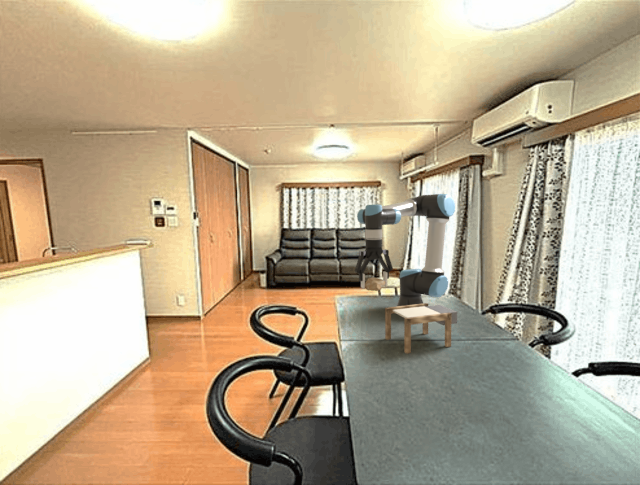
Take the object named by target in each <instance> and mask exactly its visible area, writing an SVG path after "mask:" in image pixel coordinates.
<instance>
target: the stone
mask: <svg viewBox="0 0 640 485" xmlns="http://www.w3.org/2000/svg"><path fill="white" fill-rule="evenodd" d="M385 283H386V282H385V280H383V278H382V279H381V278H378V277H368V278H367V279H366V280H365V289H366V291H372V292H374V291H375V292H378V291H381V290H382V288H383V287H385V286H384V285H385Z"/></svg>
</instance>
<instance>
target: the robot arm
mask: <svg viewBox="0 0 640 485" xmlns="http://www.w3.org/2000/svg"><path fill="white" fill-rule="evenodd" d="M455 204H456V203H455V201H454V199H453V197H452V195H450V194H447V193H436V194H422V195H419V196H415V197H411V198H408V199H405V200H403V201H401V202H397V203H392V204H386V205H382V204H367V205H365V208H363V209H362V208H361V209H359V210H358V212H357V215H356V219H357V221H358V222H359V224H361V225H362V224H363V225H364V226H365V227H364V228H365V230H364V231H365V234H364V237H365V242H364V243H365V245H364V246H365V250H364V251H363V250H359V251H358V259H357V263H356V265H355V267H354V268H355V269H354V273H357V274H358V280H359V281H360V288H361V289H363V290H365V289H366V288H365V282H366V278H365V276H366V274H365V270H366V269H367V267H368V265H369V263H370V262H371V261H372V260H378V262H379V263H380V265H381V267H382V269H383V270H384V271H383V272H382V280H385V282H386V283H385V285H384V286H383V287H388V279H390V272H391V271H393V270H394V268H393V265H392V260H391V258H390V256H389V249H385V248H384V249H383V239H382V238H383V226H385V225H386V226H388V225H392V226H394V225H397V224H399V223H400V222H401V220H402V217H405V216H407V217H415V216H416V217H426V218H425V219H426V221H428V227H427V228H428V229H427V238H426V240H427V241H426V249H425V261H424V267H423V268H412V269H411V268H410V269H403V270H401V271H400V273H399V299H398V301H397V303H396V307H397V306H406V305H414V304H423V303H424V301H423V299H422V296H429V297H430V298H433V297H434V298H440V297H442V296H444V295H445V293H446V292H447V290H448V287H449V280H448V277H447V276H446V275H445V271H444V270H443V258H444V257H443V256H444V245H445V236H446V234H445V233H446V224H447V223H448V222H450V217H452V216H454V215H455V214H454V213H455V212H456V210H455V209H456V205H455ZM382 255H384V256H383V257H384V259H383V257H382ZM364 256H365V257H364ZM363 260H364V261H363ZM384 260H385V261H384Z"/></svg>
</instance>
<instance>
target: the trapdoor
mask: <svg viewBox="0 0 640 485" xmlns="http://www.w3.org/2000/svg"><path fill="white" fill-rule="evenodd" d="M393 312H394V314H397V315H398V316H400V317H402V318H403V319H404V318H409V317H417V316H425V315H433V314H441V313H452V316H451V325H455V324H458V311H456V310H453V309H451V308H449V307H446V306H443V305H442V304H435V305H428V306H422V307H413V308H405V309H396V310H393ZM435 323H438V324H439V325H442V326H445V320H443V321H436V322H435Z"/></svg>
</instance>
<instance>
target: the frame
mask: <svg viewBox="0 0 640 485" xmlns="http://www.w3.org/2000/svg"><path fill="white" fill-rule="evenodd" d="M422 306H429V303H427V302H423V304H414V305H406V306H397V305H396V306H390V307H389V306H388V307H384V309H385V310H384V314H385V315H384V319H385V320H384V322H385V323H384V326H385V327H384V329H385V330H384V332H385V333H384V334H385V338H384V339H385V340H386V341H389V340H392V314H395V313H394V312H393V310H396V309H405V308H413V307H422ZM451 316H452V313H441V314H433V315H425V316H417V317H409V318H404V317H403V320H404V321H403V322H404V323H403V324H404V325H403V326H404V327H403V329H404V330H403V331H404V332H403V333H404V336H403V337H404V339H403V340H404V345H403V346H404V349H403V350H404V353H405V354H412V353H411V351H412V350H411V349H412V325H418V324H419V325H420V324H422V335H429V323H437V322H436V321H443V320H445V325H444V347H446V348H450V347H452V324H451Z"/></svg>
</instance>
